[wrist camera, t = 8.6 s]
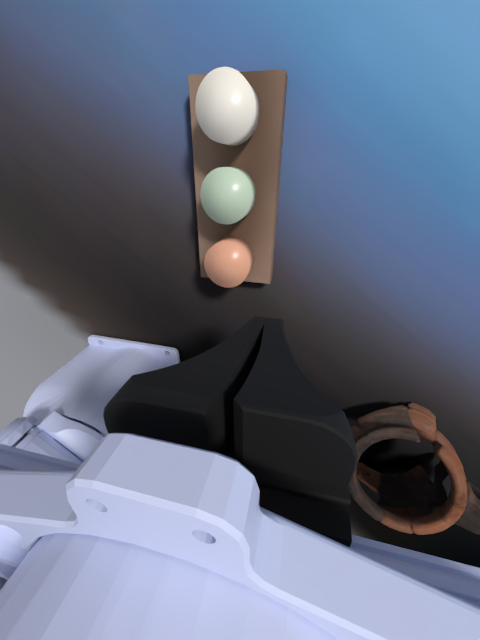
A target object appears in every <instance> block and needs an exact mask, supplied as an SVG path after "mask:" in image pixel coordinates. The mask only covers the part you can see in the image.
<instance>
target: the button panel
mask: <svg viewBox="0 0 480 640" xmlns="http://www.w3.org/2000/svg"><path fill="white" fill-rule="evenodd" d="M240 73H241V74H242V75H243V76H244V77H245V79H246V80H247V81H248V83H249V84H250V85H251V87H252V88H253V90H254V91H255V93H256V95H257V98H258V102H259V120H258V124H257V127H256V129H255V131H254V133H253V134H252V136H251V137H250V138H249V139H248V140H247V141H245V142H244V143H242V144H240V145H236V146H229V145H225V144H222V143H218V142H215V141H213V140H212V139H210V138H209V137H208V136H207V135H206V134H205V133H204V132H203V130H202V129H201V127H200V125H199V123H198V120H197V116H196V109H195V102H196V95H197V91H198V88H199V86H200V84H201V82H202V80H203V79H204V78H205V76H206V75H207V74H199V75H188V80H189V96H190V112H191V128H192V144H193V160H194V176H195V192H196V208H197V223H198V239H199V255H200V271H201V277H206V278H209V277H208V275H207V273H206V271H205V267H204V258H205V255H206V253H207V251H208V250H209V249H210V248H211V247H212V246H213V245H214V244H216V243H217V242H218V241H220V240H221V239H223V238H226V237H237V238H240V239H242V240H244V241H245V242H246V243H247V244H248V245H249V246H250V248H251V250H252V252H253V257H254V262H253V266H252V269H251V270H250V272H249V274H248V275H247V277H246V278H245V280H244V281H246V282H256V283H266V284H270V282H271V280H272V273H273V260H274V247H275V234H276V221H277V208H278V195H279V182H280V169H281V156H282V142H283V129H284V116H285V103H286V90H287V73H286V70H268V71H251V72H240ZM219 167H236V168H240V169H242V170H244V171H245V172H246V173H248V174H249V175H250V177H251V178H252V180H253V182H254V184H255V188H256V201H255V204H254V207H253V209H252V210H251V211H250V213H249V214H248V215H246V216H245V217H244V218H242V219H241V220H239V221H238V222H236V223H233V224H220V223H217V222H215V221H214V220H212V219H211V218H210V217H209V216H208V215H207V214H206V212H205V211H204V209H203V206H202V203H201V198H200V191H201V186H202V183H203V181H204V179H205V177H206V176H207V175H208V174H209V173H210V172H211V171H212V170H214V169H216V168H219Z"/></svg>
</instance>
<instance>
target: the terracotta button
mask: <svg viewBox="0 0 480 640" xmlns="http://www.w3.org/2000/svg"><path fill="white" fill-rule="evenodd" d="M253 262H254V257H253V252H252V250H251V248H250V246H249V245H248V244H247V243H246V242H245V241H244V240H242V239H240V238H237V237H226V238H223V239H221V240H220V241H218V242H217V243H216V244H214V245H213V246H212V247H211V248H210V249H209V250H208V251H207V253H206V255H205V258H204V267H205V271H206V273H207V275H208V277H209V278H210V279H211V280H212V281H213V282H214V283H215V284H217V285H219V286H222V287H227V288H230V287H235V286H238V285H239V284H241V283H242V282H243V281H244V280H245V278H246V277H247V275H248V274H249V272H250V270H251V269H252V266H253Z"/></svg>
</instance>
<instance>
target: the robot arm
mask: <svg viewBox="0 0 480 640" xmlns="http://www.w3.org/2000/svg"><path fill="white" fill-rule="evenodd" d="M88 342H89V346H88V347H87V348H85V349H84V350H83V351H82V352H80V353H79V354H78V355H76V356H75V357H74V358H73V359H71V360H70V361H69V362H68V363H66V364H65V365H64V366H63V367H61V368H60V369H59V370H57V371H56V372H55V373H54V374H52V375H51V376H50V377H49V378H47V379H46V380H45V381H43V382H42V383H41V384H40V385H39V386H38V387H37V388H36V390H35V391H34V393H33V394H32V395H31V397H30V399H29V400H28V402H27V404H26V407H25V410H24V414H23V418H17V419H15V420H14V421H13V422H11V423H10V424H9V425H8V426H6V427H5V428H4V429H3V430H1V431H0V640H480V568H478V567H474V566H470V565H466V564H462V563H458V562H454V561H451V560H447V559H443V558H439V557H435V556H431V555H428V554H424V553H420V552H416V551H412V550H408V549H404V548H401V547H397V546H393V545H389V544H385V543H381V542H377V541H374V540H370V539H366V538H362V537H358V536H354V535H351V526H350V516H349V507H350V501H351V500H350V491H349V486H350V483H351V480H352V477H353V474H354V472H355V469H356V466H357V458H358V456H357V449H356V445H355V441H354V438H353V434H352V431H351V428H350V425H349V423H348V420H347V418H346V416H345V413H344V412H343V411H342V410H341V409H340V408H339V407H338V406H336V405H335V404H334V403H333V402H331V401H330V400H329V399H328V398H326V397H325V396H324V395H323V394H322V393H321V392H320V391H319V390H318V389H317V388H316V387H315V385H314V384H313V383H312V382H311V381H310V380H309V378H308V377H307V376H306V375H305V373H304V372H303V370H302V369H301V367H300V366H299V364H298V363H297V361H296V359H295V357H294V355H293V353H292V351H291V349H290V347H289V345H288V342H287V339H286V336H285V333H284V328H283V321H282V320H281V319H274V318H265V317H256V316H254V317H253V318H252V319H251V320H249V321H248V322H247V323H246V324H245V325H244V326H242V327H241V328H240V329H239V330H238V331H236V332H235V333H234V334H232V335H231V336H230V337H228V338H227V339H225V340H224V341H223V342H221V343H220V344H218V345H216V346H215V347H213V348H211V349H209V350H207V351H206V352H204V353H202V354H199V355H197V356H195V357H193V358H190V359H188V360H186V361H183V362H180V357H179V351H178V350H177V349H176V348H173V347H167V346H160V345H154V344H148V343H141V342H135V341H129V340H122V339H116V338H110V337H103V336H97V335H91V336H89V337H88ZM167 351H168V352H169V353H168V352H167Z"/></svg>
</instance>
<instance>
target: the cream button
mask: <svg viewBox="0 0 480 640" xmlns="http://www.w3.org/2000/svg"><path fill="white" fill-rule="evenodd" d="M195 109H196V116H197V120H198V123H199V125H200V127H201V129H202V130H203V132H204V133H205V134H206V135H207V136H208V137H209V138H210V139H212V140H213V141H215V142H218V143H222V144H225V145H229V146H236V145H240V144H242V143H244V142H245V141H247V140H248V139H249V138H250V137H251V136H252V134H253V133H254V131H255V129H256V127H257V124H258V120H259V102H258V98H257V95H256V93H255V91H254V90H253V88H252V87H251V85H250V84H249V83H248V81H247V80H246V79H245V77H244V76H243V75H242V74H241V73H240V72H238V71H237V70H235V69H233V68H229V67H220V68H217V69H214V70H212V71H211V72H210V73H208V74H207V75H206V76H205V78H204V79H203V80H202V82H201V84H200V86H199V88H198V91H197V95H196V102H195Z"/></svg>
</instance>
